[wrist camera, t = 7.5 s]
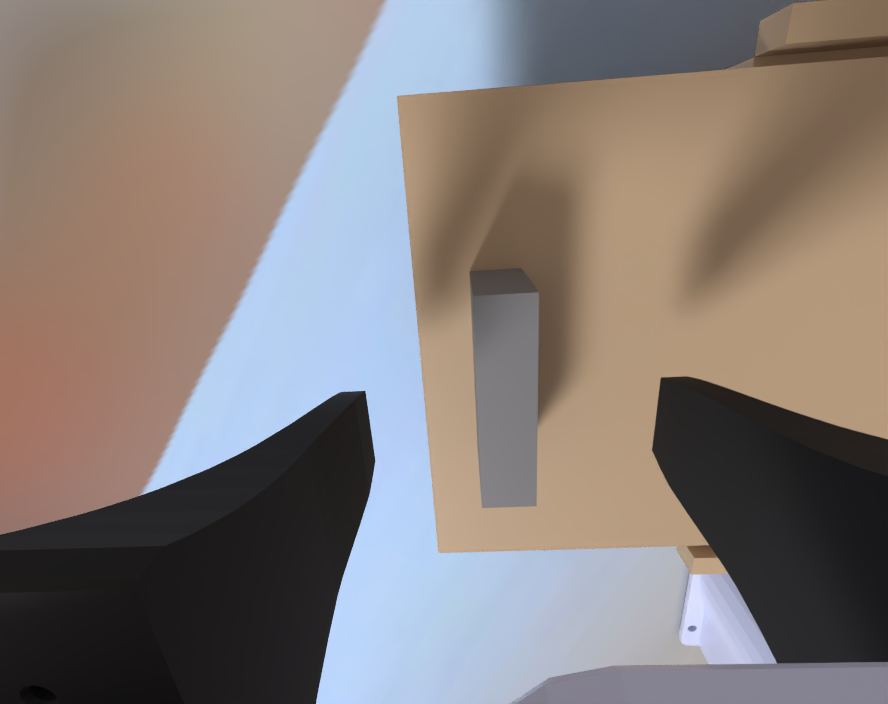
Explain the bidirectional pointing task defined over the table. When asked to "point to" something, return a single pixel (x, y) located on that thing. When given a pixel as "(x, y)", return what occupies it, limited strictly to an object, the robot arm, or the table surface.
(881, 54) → the wooden box
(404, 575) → the table surface
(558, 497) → the lid
